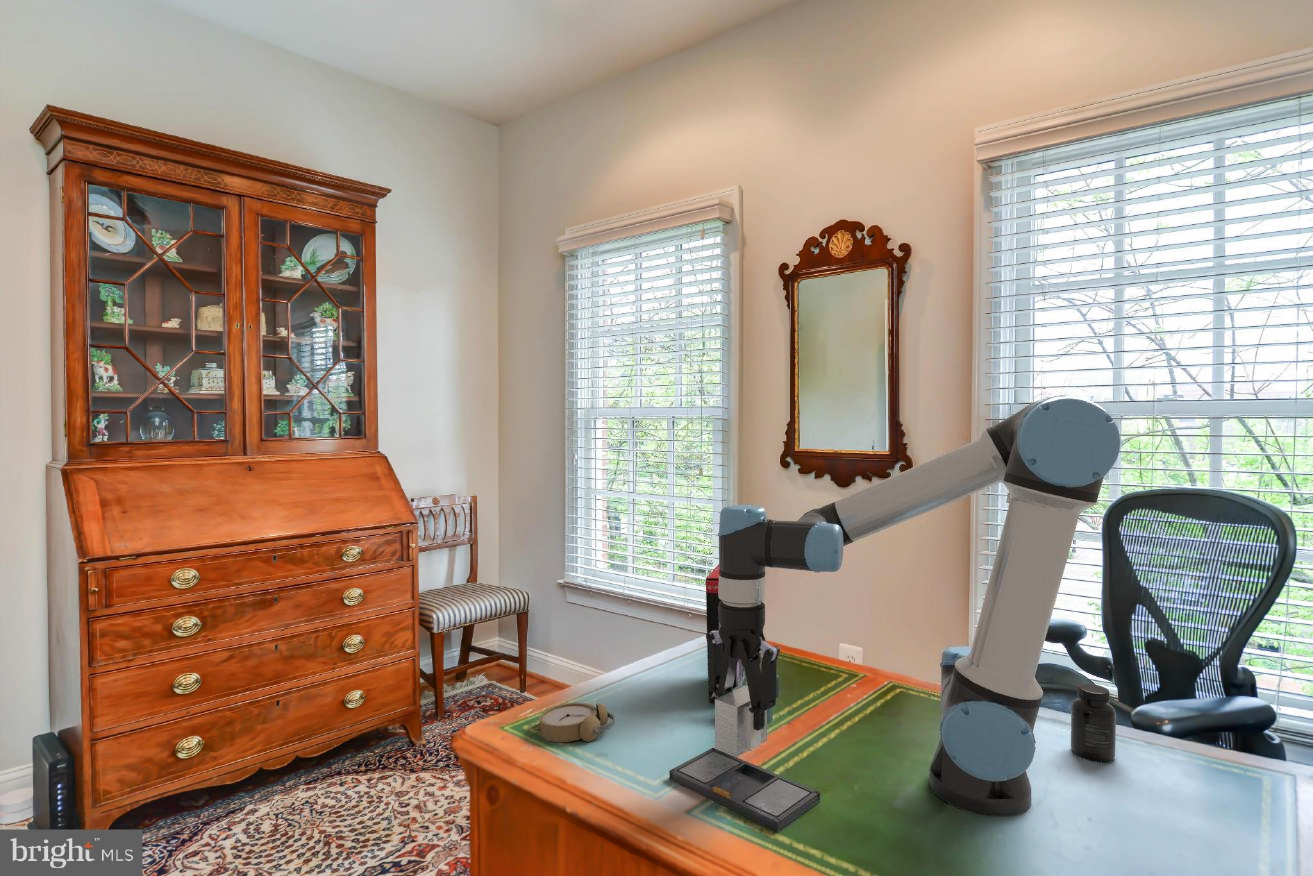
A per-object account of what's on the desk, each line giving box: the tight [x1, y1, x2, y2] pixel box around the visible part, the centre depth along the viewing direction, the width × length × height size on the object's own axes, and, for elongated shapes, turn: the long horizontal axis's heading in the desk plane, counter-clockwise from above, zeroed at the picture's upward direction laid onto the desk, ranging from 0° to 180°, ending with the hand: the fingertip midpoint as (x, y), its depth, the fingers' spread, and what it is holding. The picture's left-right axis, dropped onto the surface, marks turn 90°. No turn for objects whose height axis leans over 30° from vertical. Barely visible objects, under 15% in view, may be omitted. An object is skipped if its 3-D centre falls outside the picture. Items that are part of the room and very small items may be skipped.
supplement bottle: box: [1070, 683, 1117, 764], centre depth 128 cm, size 7×7×12 cm
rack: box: [668, 747, 821, 833], centre depth 117 cm, size 22×12×2 cm, turn 46°
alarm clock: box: [534, 702, 616, 743], centre depth 139 cm, size 11×5×15 cm
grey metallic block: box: [714, 686, 768, 758], centre depth 116 cm, size 4×8×8 cm, turn 136°
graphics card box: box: [705, 563, 747, 704], centre depth 158 cm, size 17×7×27 cm, turn 165°
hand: (741, 742), depth 116 cm, fingers closed on grey metallic block, 4 cm apart
